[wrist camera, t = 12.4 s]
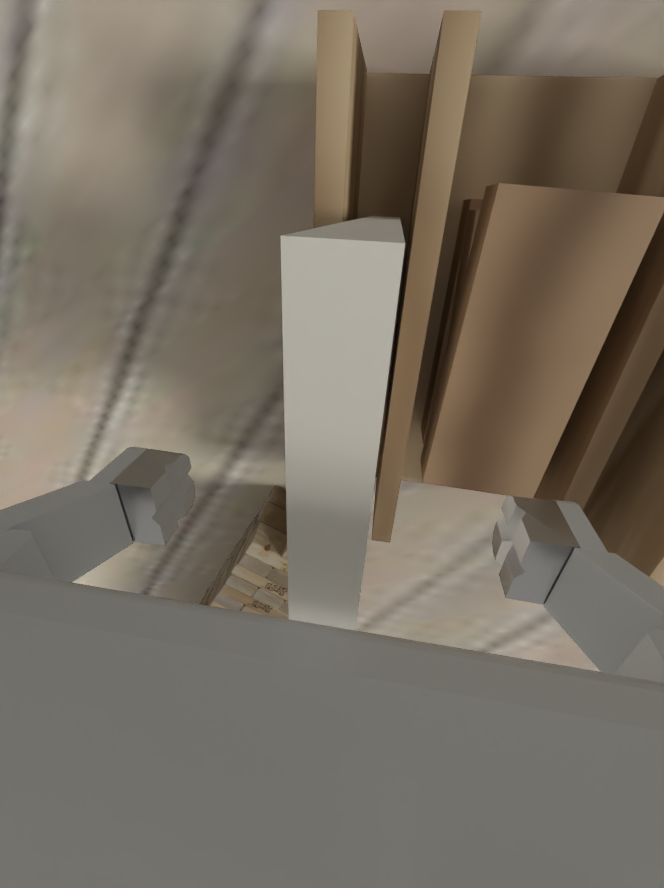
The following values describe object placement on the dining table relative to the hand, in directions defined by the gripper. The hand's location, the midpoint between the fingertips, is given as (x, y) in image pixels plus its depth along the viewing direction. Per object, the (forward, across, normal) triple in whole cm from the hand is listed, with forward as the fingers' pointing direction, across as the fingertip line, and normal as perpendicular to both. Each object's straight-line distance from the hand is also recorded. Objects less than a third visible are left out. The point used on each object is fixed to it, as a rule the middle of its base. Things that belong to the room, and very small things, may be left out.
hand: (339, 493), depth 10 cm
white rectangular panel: (+18, 0, 0) cm, 18 cm away
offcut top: (+13, -7, 0) cm, 14 cm away
